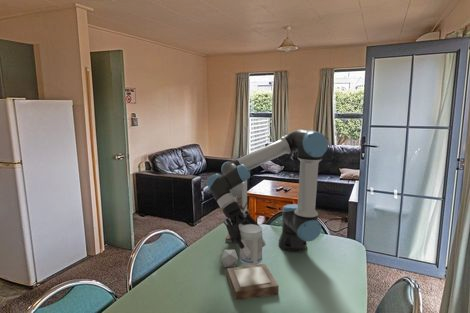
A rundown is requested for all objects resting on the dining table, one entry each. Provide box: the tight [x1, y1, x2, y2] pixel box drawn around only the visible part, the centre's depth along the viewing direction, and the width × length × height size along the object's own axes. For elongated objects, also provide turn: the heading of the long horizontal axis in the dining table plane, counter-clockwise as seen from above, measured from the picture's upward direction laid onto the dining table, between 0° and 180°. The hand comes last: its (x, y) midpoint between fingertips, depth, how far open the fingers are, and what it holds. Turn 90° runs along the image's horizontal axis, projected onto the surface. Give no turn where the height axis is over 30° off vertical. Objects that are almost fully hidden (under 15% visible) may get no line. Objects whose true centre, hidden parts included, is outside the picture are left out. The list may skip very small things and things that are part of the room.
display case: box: [225, 179, 248, 244], centre depth 178 cm, size 11×11×35 cm
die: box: [220, 249, 239, 268], centre depth 150 cm, size 8×9×10 cm
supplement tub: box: [239, 224, 263, 266], centre depth 132 cm, size 10×10×15 cm
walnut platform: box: [226, 263, 279, 301], centre depth 135 cm, size 18×18×4 cm
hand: (256, 250), depth 130 cm, fingers closed on supplement tub, 10 cm apart
